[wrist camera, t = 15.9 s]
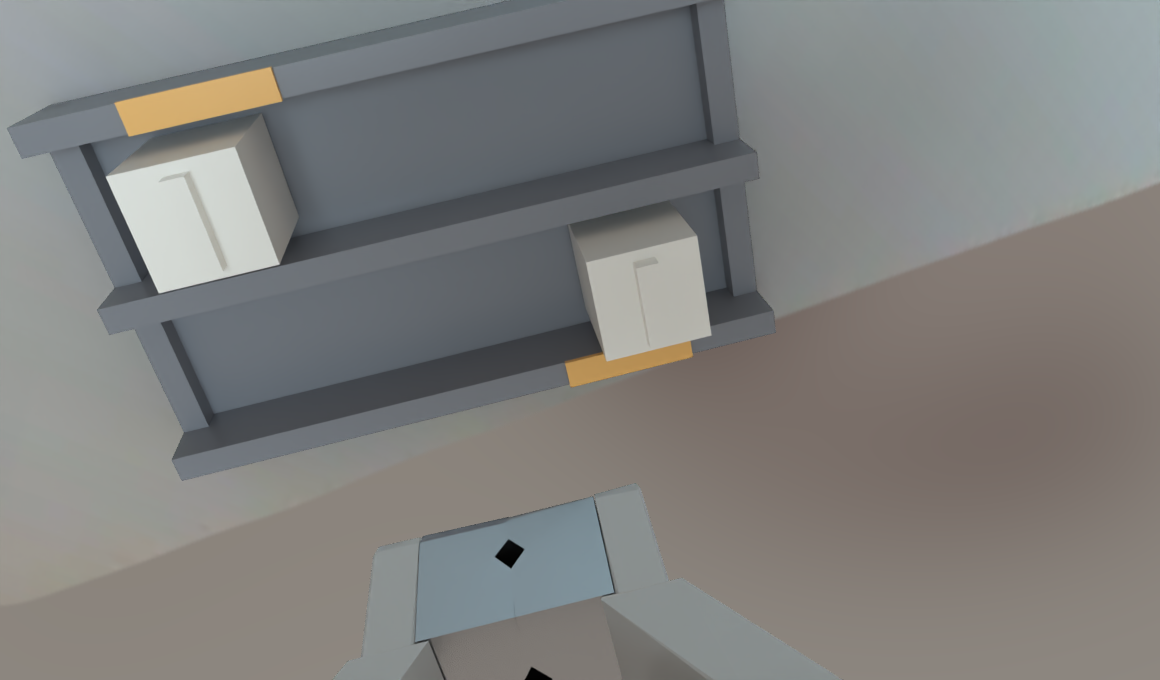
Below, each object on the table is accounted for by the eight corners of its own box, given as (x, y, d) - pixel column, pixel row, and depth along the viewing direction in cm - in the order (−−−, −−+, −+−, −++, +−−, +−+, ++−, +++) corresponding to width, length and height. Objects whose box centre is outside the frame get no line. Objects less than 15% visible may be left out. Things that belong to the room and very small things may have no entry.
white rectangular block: (261, 112, 32) (231, 151, 27) (299, 216, 34) (277, 271, 29) (150, 138, 32) (99, 182, 27) (194, 241, 34) (153, 300, 29)
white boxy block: (663, 194, 36) (701, 241, 31) (677, 284, 38) (716, 342, 33) (566, 217, 36) (588, 268, 31) (585, 306, 37) (609, 369, 32)
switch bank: (705, -46, 33) (737, -40, 29) (747, 298, 39) (777, 335, 36) (48, 103, 32) (3, 128, 28) (202, 433, 38) (181, 485, 35)
